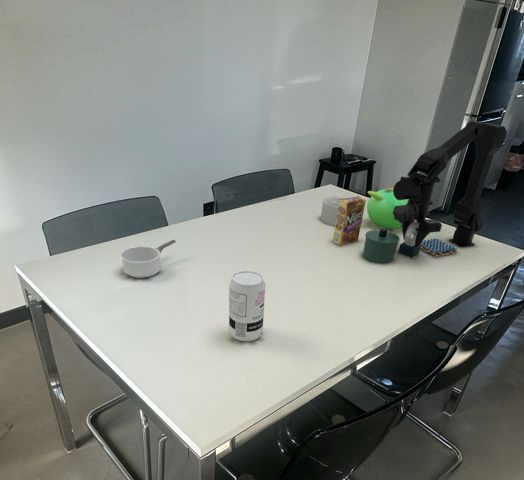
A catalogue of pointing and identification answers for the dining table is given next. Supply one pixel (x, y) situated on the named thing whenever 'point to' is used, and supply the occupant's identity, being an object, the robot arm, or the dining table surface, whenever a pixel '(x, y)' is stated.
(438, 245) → the woven mat
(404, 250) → the watch
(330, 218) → the lumpy-topped squat cylinder
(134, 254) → the saucepan
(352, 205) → the candy box
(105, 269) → the dining table surface
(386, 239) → the pot lid
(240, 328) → the supplement can
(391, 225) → the green toy creature
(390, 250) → the pot
